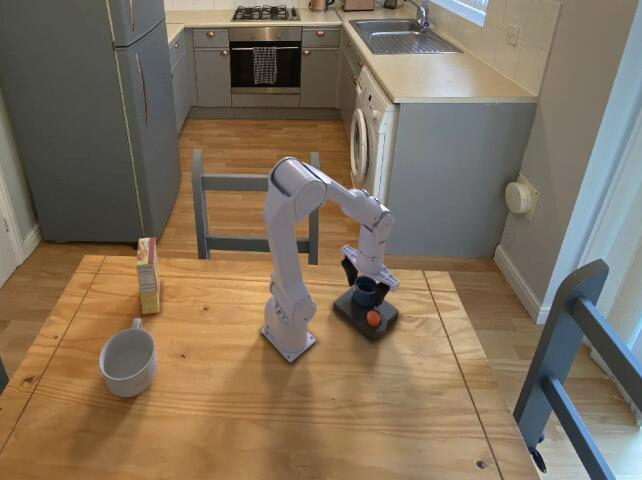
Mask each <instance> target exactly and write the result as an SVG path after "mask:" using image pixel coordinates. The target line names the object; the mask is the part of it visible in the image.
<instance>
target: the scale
mask: <svg viewBox="0 0 642 480" xmlns="http://www.w3.org/2000/svg"><path fill="white" fill-rule="evenodd" d="M353 289H354V285H353V286H351V288H349V289H348V290H347V291H345V292H344V293H343V294H341V296H339V297H338V298H337V299H336V300H334V301H333V303H332V308H333V310H335V311H336V312H337V313H339V315H340V316H342V317H343V318H344V319H345V320H346V321H348V322H349V323H350V324H351V325H352V326H354V327H355V328H356V329H357V330H358V331H359V332H360V333H362V334H363V335H364V336H365V337H366V338H367V339H369V340H370V341H371V342H373V341H374V340H375V339H376V338H381V337H383V336H384V335H385V334H386V332H387V327H389V326H390V325H391V324H392V323H393V322H394V321H395V320H396V319H397V318H398V317H399V314H400V310H399V309H398V308H396V307H395V306H394V305H392V304H391V303H390V302H388V300H386V299H384V300H383V302H382V304H381V305H379V306H378V307H376V306H375V304H374V305H373V306H370V307H365V306H362V305H360V304H358V303H357V302H356V301H355V300H354V297H353ZM370 311H374V312H377V313H378V314H379V315H380V324H379V326H377V327H372V326H370V325H369V324H368V323H367V314H368V312H370Z"/></svg>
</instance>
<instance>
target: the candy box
mask: <svg viewBox="0 0 642 480" xmlns="http://www.w3.org/2000/svg"><path fill="white" fill-rule="evenodd" d="M156 242H157V241H156V236H152V237H143V238H138V242H137V252H136V263H135V266H136V273H137V281H138V288H139V297H140V305H141V312H142V315H148V314H157V313H160V301H161V299H160V298H161V281H160V280H161V279H160V272H159V271H160V269H159V260H158V251H157V250H158V249H157V243H156Z"/></svg>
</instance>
